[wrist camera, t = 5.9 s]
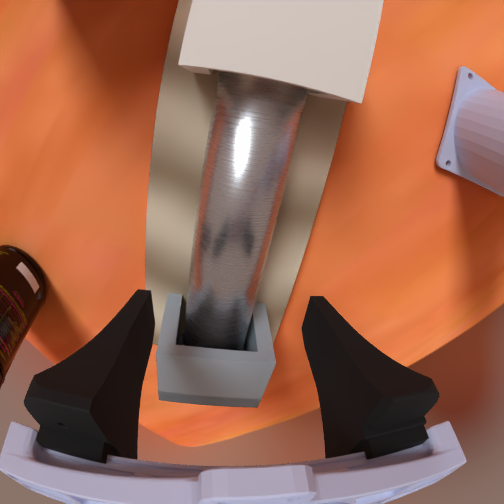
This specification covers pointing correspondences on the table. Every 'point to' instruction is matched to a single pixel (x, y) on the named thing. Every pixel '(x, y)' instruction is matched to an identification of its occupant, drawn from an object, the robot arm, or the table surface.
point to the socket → (213, 363)
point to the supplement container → (17, 302)
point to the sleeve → (286, 42)
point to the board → (189, 177)
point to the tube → (238, 204)
